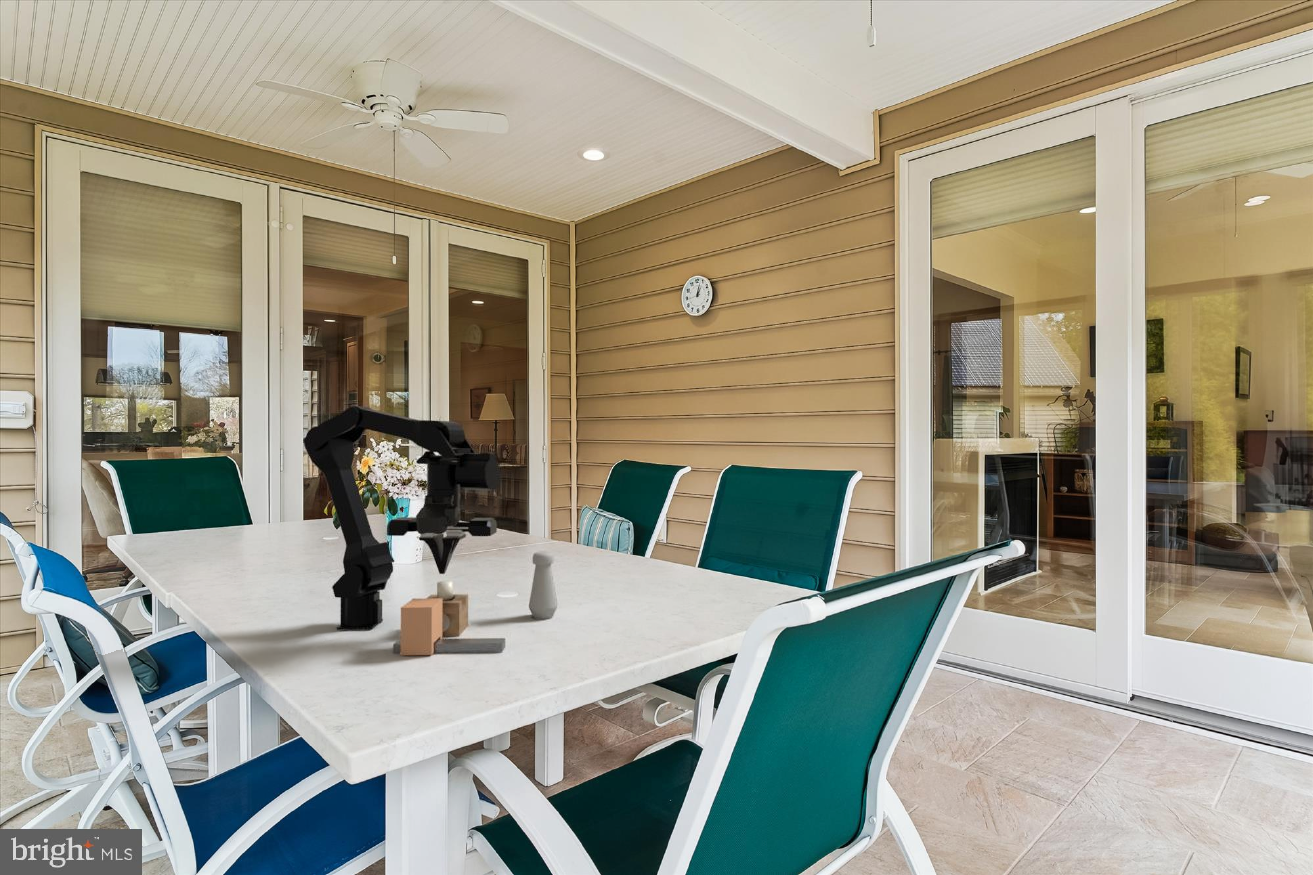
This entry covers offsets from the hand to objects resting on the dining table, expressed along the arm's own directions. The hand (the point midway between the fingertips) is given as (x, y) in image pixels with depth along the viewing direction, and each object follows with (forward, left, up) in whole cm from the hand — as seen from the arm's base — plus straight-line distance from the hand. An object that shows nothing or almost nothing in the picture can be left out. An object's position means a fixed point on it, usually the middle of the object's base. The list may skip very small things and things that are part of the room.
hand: (442, 573), depth 128 cm
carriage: (-1, -11, -11) cm, 15 cm away
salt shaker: (+17, +11, -11) cm, 23 cm away
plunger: (0, +1, -5) cm, 5 cm away
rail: (+4, -11, -11) cm, 16 cm away
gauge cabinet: (0, +1, -11) cm, 11 cm away
